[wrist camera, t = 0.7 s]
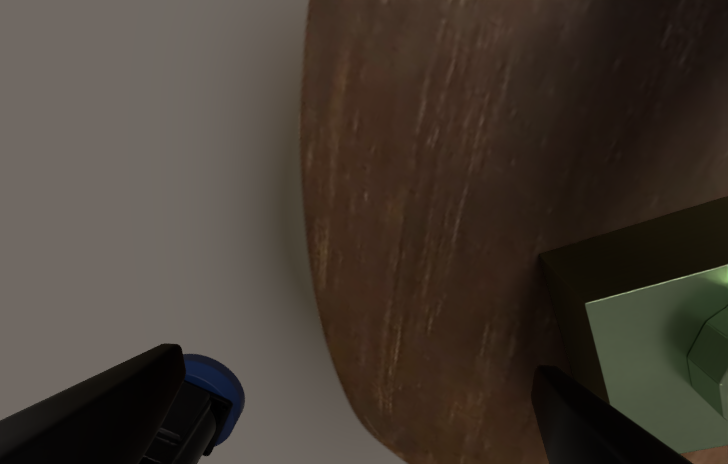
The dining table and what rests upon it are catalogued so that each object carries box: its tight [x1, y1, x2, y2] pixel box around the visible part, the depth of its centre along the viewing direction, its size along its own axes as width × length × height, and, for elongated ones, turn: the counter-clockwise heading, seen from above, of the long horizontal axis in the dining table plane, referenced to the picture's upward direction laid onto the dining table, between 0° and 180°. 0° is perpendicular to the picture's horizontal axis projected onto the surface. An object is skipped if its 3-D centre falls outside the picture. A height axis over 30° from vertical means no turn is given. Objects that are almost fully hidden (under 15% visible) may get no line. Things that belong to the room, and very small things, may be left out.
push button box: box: [539, 196, 728, 454], centre depth 18 cm, size 10×10×8 cm
